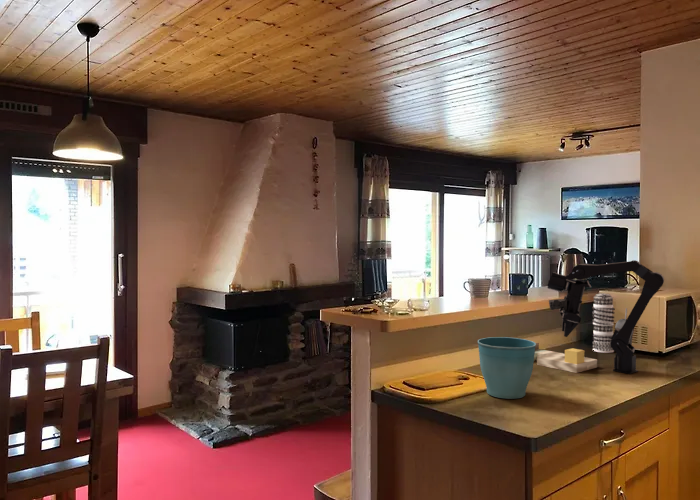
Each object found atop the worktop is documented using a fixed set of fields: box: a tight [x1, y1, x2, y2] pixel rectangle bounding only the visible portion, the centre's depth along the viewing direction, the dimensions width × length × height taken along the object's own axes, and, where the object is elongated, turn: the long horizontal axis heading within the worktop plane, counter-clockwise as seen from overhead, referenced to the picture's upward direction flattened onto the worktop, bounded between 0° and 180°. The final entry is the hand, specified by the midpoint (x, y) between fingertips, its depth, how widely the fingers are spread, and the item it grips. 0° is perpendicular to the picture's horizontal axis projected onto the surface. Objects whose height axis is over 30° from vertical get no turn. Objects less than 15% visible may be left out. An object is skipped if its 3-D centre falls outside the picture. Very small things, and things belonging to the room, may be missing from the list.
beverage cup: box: [614, 307, 635, 346], centre depth 235 cm, size 7×7×20 cm
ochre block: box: [564, 347, 585, 364], centre depth 212 cm, size 5×5×4 cm
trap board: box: [534, 342, 598, 374], centre depth 223 cm, size 27×14×6 cm, turn 36°
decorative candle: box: [591, 292, 616, 354], centre depth 246 cm, size 9×9×25 cm
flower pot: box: [477, 336, 537, 400], centre depth 180 cm, size 18×18×17 cm
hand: (564, 333), depth 220 cm, fingers open, 9 cm apart
